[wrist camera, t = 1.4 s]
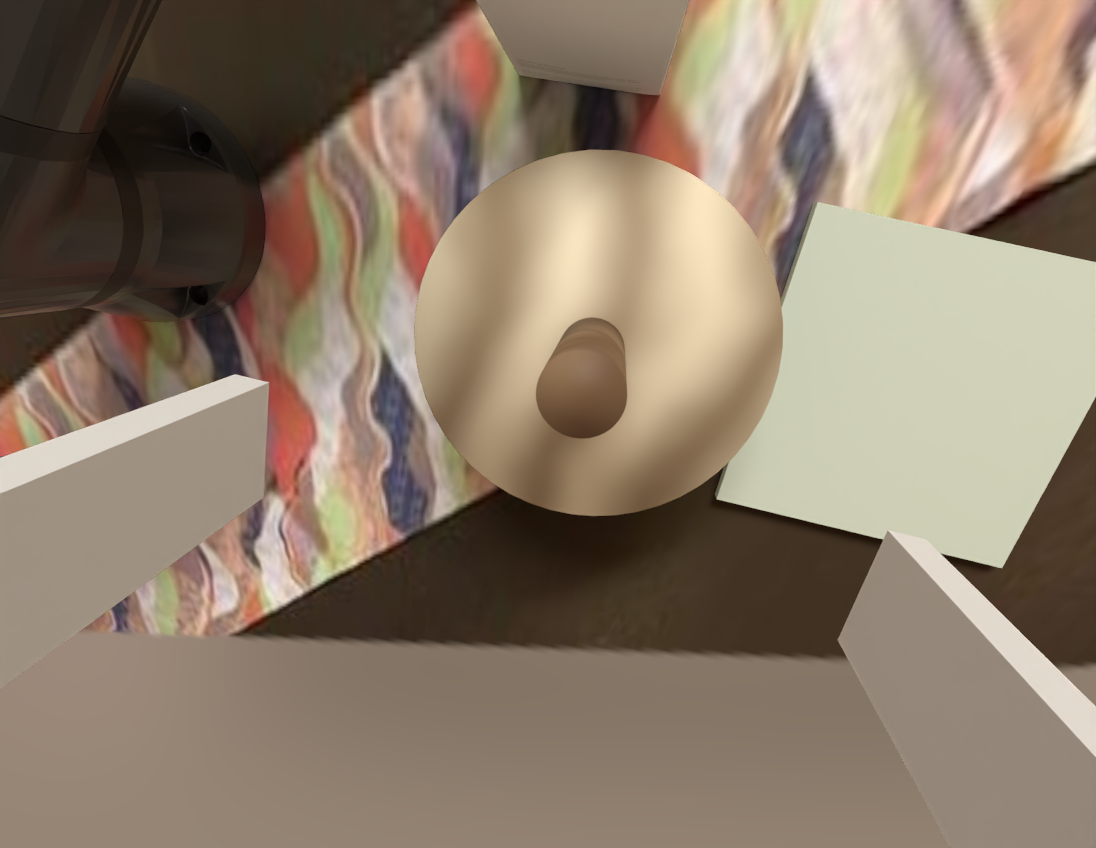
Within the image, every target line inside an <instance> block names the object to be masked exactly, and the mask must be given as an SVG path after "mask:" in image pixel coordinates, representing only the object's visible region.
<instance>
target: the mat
mask: <svg viewBox="0 0 1096 848" xmlns="http://www.w3.org/2000/svg"><path fill="white" fill-rule="evenodd" d="M781 309H782V318H783V349H782V355H781V362H780V368H779V373H778V377H777V380H776V383H775V387H774V390H773V393H772V396H771V399H770V401H769V403H768V405H767V408H766V410H765V412H764V414H763V416H762V418H761V420H760V422H759V423H758V425H757V426H756V428H755V430H754V431H753V433H752V435H751V436H750V438H749V439H748V440H747V442H746V443H745V444H744V445H743V446H742V448H741V449H740V450H739V451H738V453H737V454H736V455H735V456H734V457H733V458H732V459H731V460H730V461H729V462H728V463H727V464H726V465H725V466H724V468H723V471H722V474H721V477H720V480H719V483H718V486H717V489H716V492H715V497H716V499H718V500H722V501H726V502H730V503H734V504H739V505H743V506H747V507H751V508H755V509H759V510H763V511H767V512H772V513H776V514H780V515H784V516H788V517H792V518H796V519H801V520H805V521H809V522H813V523H817V524H821V525H825V526H829V527H834V528H838V529H842V530H846V531H850V532H854V533H858V534H862V535H867V536H871V537H875V538H879V539H884V537H885V535H886V533H887V531H888V530H889V531H893V532H898V533H902V534H906V535H910V536H914V537H919V538H923V539H926V540H927V541H928V542H929V543H930V544H931V545H932V546H933V547H934V548H935V549H936V550H937V551H938V552H939V553H941V554H945V555H949V556H953V557H958V558H962V559H966V560H970V561H974V562H978V563H982V564H986V565H991V566H995V567H999V568H1002V567H1003V565H1004V563H1005V562H1006V560H1007V558H1008V556H1009V554H1010V552H1011V551H1012V549H1013V547H1014V545H1015V543H1016V541H1017V540H1018V538H1019V536H1020V534H1021V532H1022V530H1023V529H1024V527H1025V525H1026V523H1027V521H1028V519H1029V518H1030V516H1031V514H1032V512H1033V510H1034V508H1035V507H1036V505H1037V503H1038V501H1039V499H1040V498H1041V496H1042V494H1043V492H1044V490H1045V488H1046V487H1047V485H1048V483H1049V481H1050V479H1051V477H1052V476H1053V474H1054V472H1055V470H1056V468H1057V466H1058V465H1059V463H1060V461H1061V459H1062V457H1063V455H1064V454H1065V452H1066V450H1067V448H1068V446H1069V444H1070V443H1071V441H1072V439H1073V437H1074V435H1075V433H1076V432H1077V430H1078V428H1079V426H1080V424H1081V423H1082V421H1083V419H1084V417H1085V415H1086V413H1087V412H1088V410H1089V408H1090V406H1091V404H1092V402H1093V401H1094V399H1095V397H1096V262H1091V261H1087V260H1082V259H1078V258H1073V257H1068V256H1064V255H1059V254H1055V253H1050V252H1045V251H1041V250H1036V249H1032V248H1027V247H1022V246H1018V245H1013V244H1008V243H1004V242H999V241H995V240H990V239H985V238H981V237H976V236H972V235H967V234H962V233H958V232H953V231H949V230H944V229H939V228H935V227H930V226H926V225H921V224H916V223H912V222H907V221H902V220H898V219H893V218H889V217H884V216H879V215H875V214H870V213H866V212H861V211H856V210H852V209H847V208H843V207H838V206H833V205H829V204H824V203H820V202H816V203H813V206H812V209H811V212H810V215H809V218H808V220H807V223H806V226H805V229H804V232H803V235H802V238H801V241H800V244H799V247H798V250H797V253H796V256H795V259H794V262H793V265H792V268H791V271H790V274H789V277H788V279H787V282H786V285H785V288H784V291H783V294H782V297H781Z"/></svg>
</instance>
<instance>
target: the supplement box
mask: <svg viewBox="0 0 1096 848" xmlns="http://www.w3.org/2000/svg"><path fill="white" fill-rule="evenodd" d="M476 1H477V3H478V4H479V6H480V8H481V10H482V11H483V13H484V15H485V17H486V18H487V20H488V22H489V24H490V25H491V27H492V29H493V31H494V33H495V34H496V36H497V38H498V40H499V42H500V43H501V45H502V47H503V49H504V50H505V52H506V54H507V56H508V57H509V59H510V61H511V62H512V64H513V66H514V68H515V70H516V71H517V73H518V74H519V75H521V76H527V77H533V78H540V79H547V80H553V81H560V82H566V83H573V84H580V85H586V86H593V87H600V88H606V89H612V90H619V91H625V92H632V93H639V94H647V95H660V94H661V92H662V88H663V85H664V82H665V78H666V75H667V72H668V69H669V65H670V62H671V59H672V56H673V53H674V50H675V46H676V43H677V40H678V37H679V33H680V30H681V27H682V23H683V20H684V17H685V14H686V10H687V7H688V4H689V0H476Z"/></svg>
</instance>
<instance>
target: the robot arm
mask: <svg viewBox="0 0 1096 848" xmlns="http://www.w3.org/2000/svg"><path fill="white" fill-rule="evenodd" d="M161 1H162V0H0V319H7V318H14V317H20V316H27V315H34V314H40V313H47V312H53V311H60V310H66V309H73V308H81V307H83V308H88V309H92V310H97V311H101V312H106V313H110V314H115V315H119V316H124V317H128V318H133V319H137V320H142V321H149V322H178V321H184V320H189V319H194V318H199V317H204V316H207V315H211V314H213V313H216V312H218V311H220V310H222V309H224V308H225V307H227V306H228V305H230V304H231V303H232V302H233V301H235V300H236V299H237V298H238V297H239V296H240V295H241V294H242V293H243V291H244V290H245V289H246V288H247V286H248V285H249V283H250V282H251V280H252V278H253V276H254V274H255V272H256V270H257V268H258V265H259V262H260V259H261V256H262V251H263V246H264V239H265V213H264V205H263V200H262V195H261V191H260V188H259V184H258V181H257V178H256V176H255V173H254V171H253V168H252V166H251V164H250V162H249V160H248V158H247V156H246V154H245V153H244V151H243V149H242V148H241V146H240V144H239V143H238V142H237V140H236V139H235V137H234V136H233V135H232V134H231V132H230V131H229V130H228V129H227V128H226V126H225V125H224V124H223V123H222V122H221V121H220V120H219V119H218V118H217V117H216V116H215V115H214V114H212V113H211V112H210V111H209V110H208V109H206V108H205V107H204V106H202V105H201V104H199V103H198V102H196V101H195V100H193V99H191V98H190V97H188V96H186V95H184V94H182V93H180V92H177V91H175V90H172V89H169V88H166V87H163V86H160V85H157V84H154V83H151V82H148V81H144V80H141V79H137V78H131V77H127V74H128V72H129V70H130V68H131V65H132V63H133V61H134V59H135V57H136V55H137V52H138V50H139V48H140V46H141V44H142V42H143V40H144V37H145V35H146V33H147V31H148V29H149V27H150V25H151V22H152V20H153V18H154V16H155V14H156V12H157V10H158V7H159V5H160V3H161ZM268 398H269V382H265V381H261V380H257V379H253V378H248V377H244V376H240V375H236V374H235V375H232V376H229V377H226V378H223V379H221V380H218V381H215V382H212V383H209V384H206V385H204V386H201V387H198V388H195V389H192V390H190V391H187V392H184V393H181V394H178V395H175V396H173V397H170V398H167V399H164V400H161V401H159V402H156V403H153V404H150V405H147V406H145V407H142V408H139V409H136V410H133V411H130V412H128V413H125V414H122V415H119V416H116V417H114V418H111V419H108V420H105V421H102V422H99V423H97V424H94V425H91V426H88V427H85V428H83V429H80V430H77V431H74V432H71V433H68V434H66V435H63V436H60V437H57V438H54V439H52V440H49V441H46V442H43V443H40V444H38V445H35V446H32V447H29V448H26V449H23V450H21V451H18V452H15V453H12V454H9V455H7V456H2V457H0V689H1V688H2V687H4V686H5V685H7V684H8V683H9V682H11V681H12V680H13V679H15V678H16V677H17V676H19V675H20V674H22V673H23V672H24V671H25V670H27V669H29V668H30V667H31V666H33V665H34V664H35V663H37V662H38V661H40V660H41V659H42V658H44V657H45V656H46V655H48V654H49V653H51V652H52V651H53V650H55V649H56V648H57V647H59V646H60V645H61V644H63V643H64V642H65V641H67V640H68V639H70V638H71V637H72V636H74V635H75V634H77V633H78V632H79V631H81V630H82V629H83V628H85V627H86V626H88V625H89V624H90V623H92V622H93V621H94V620H96V619H97V618H99V617H100V616H101V615H103V614H104V613H105V612H107V611H108V610H110V609H111V608H112V607H114V606H115V605H116V604H118V603H119V602H121V601H122V600H123V599H125V598H126V597H127V596H129V595H130V594H132V593H133V592H134V591H136V590H137V589H138V588H140V587H141V586H142V585H144V584H145V583H147V582H148V581H149V580H151V579H152V578H153V577H155V576H156V575H158V574H159V573H160V572H162V571H163V570H164V569H166V568H167V567H169V566H170V565H171V564H173V563H174V562H175V561H177V560H178V559H180V558H181V557H182V556H184V555H185V554H186V553H188V552H189V551H191V550H192V549H193V548H195V547H196V546H197V545H199V544H200V543H201V542H203V541H204V540H206V539H207V538H208V537H210V536H211V535H212V534H214V533H215V532H217V531H218V530H219V529H221V528H222V527H223V526H225V525H226V524H228V523H229V522H230V521H232V520H233V519H234V518H236V517H237V516H239V515H240V514H241V513H243V512H244V511H245V510H247V509H248V508H250V507H251V506H252V505H254V504H255V503H256V502H258V501H259V500H261V499H262V498H263V497H264V478H265V458H266V438H267V418H268ZM838 641H839V643H840V645H841V647H842V649H843V651H844V653H845V654H846V656H847V658H848V660H849V662H850V664H851V665H852V667H853V669H854V671H855V673H856V675H857V677H858V678H859V680H860V682H861V684H862V686H863V688H864V689H865V691H866V693H867V695H868V697H869V699H870V701H871V702H872V704H873V706H874V708H875V710H876V712H877V713H878V715H879V717H880V719H881V721H882V723H883V725H884V726H885V728H886V730H887V732H888V734H889V735H890V737H891V739H892V741H893V743H894V745H895V747H896V749H897V750H898V752H899V754H900V756H901V758H902V760H903V761H904V763H905V765H906V767H907V769H908V771H909V773H910V774H911V776H912V778H913V780H914V782H915V784H916V785H917V787H918V789H919V791H920V793H921V795H922V796H923V798H924V800H925V802H926V804H927V805H928V808H929V809H930V811H931V813H932V815H933V817H934V819H935V820H936V822H937V824H938V826H939V828H940V830H941V832H942V833H943V835H944V837H945V839H946V841H947V843H948V845H949V846H950V848H1096V706H1095V705H1094V704H1093V703H1091V702H1090V701H1089V700H1088V699H1087V698H1086V697H1085V696H1084V695H1083V694H1082V693H1081V692H1080V691H1079V690H1078V689H1077V688H1076V687H1075V686H1074V685H1073V684H1072V683H1071V682H1070V681H1069V680H1068V679H1067V678H1066V677H1065V676H1064V675H1063V674H1062V673H1061V672H1060V671H1059V670H1058V669H1057V668H1056V667H1055V666H1054V665H1053V664H1052V663H1051V662H1050V661H1049V660H1048V659H1047V658H1046V657H1045V656H1044V655H1043V654H1042V653H1041V652H1040V651H1039V650H1038V649H1037V648H1036V647H1035V646H1034V645H1033V644H1032V643H1031V642H1030V641H1029V640H1028V639H1027V638H1026V637H1025V636H1024V635H1022V634H1021V633H1020V632H1019V631H1018V630H1017V629H1016V628H1015V627H1014V626H1013V625H1012V624H1011V623H1010V622H1009V621H1008V620H1007V619H1006V618H1005V617H1004V616H1003V615H1002V614H1001V613H1000V612H999V611H998V610H997V609H996V608H995V607H994V606H993V605H992V604H991V603H990V602H989V601H988V600H987V599H986V598H985V597H984V596H983V595H982V594H981V593H980V592H979V591H978V590H977V589H976V588H975V587H974V586H973V585H972V584H971V583H970V582H969V581H968V580H967V579H966V578H965V577H964V576H963V575H962V574H961V573H960V572H959V571H958V570H957V569H956V568H955V567H953V566H952V565H951V564H950V563H949V562H948V561H947V560H946V559H945V558H944V557H943V556H942V555H941V554H940V553H939V552H938V551H937V550H936V549H935V548H934V547H933V546H932V545H931V544H930V543H929V542H928V541H927V540H926V539H923V538H919V537H914V536H910V535H906V534H902V533H898V532H893V531H889V530H888V531H887V533H886V535H885V537H884V539H883V542H882V544H881V546H880V548H879V550H878V553H877V555H876V557H875V559H874V561H873V564H872V566H871V568H870V570H869V572H868V575H867V577H866V579H865V581H864V583H863V586H862V588H861V590H860V592H859V594H858V597H857V599H856V601H855V603H854V605H853V608H852V610H851V612H850V614H849V616H848V619H847V621H846V623H845V625H844V627H843V630H842V632H841V634H840V636H839V638H838Z"/></svg>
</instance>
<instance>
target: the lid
mask: <svg viewBox="0 0 1096 848" xmlns="http://www.w3.org/2000/svg"><path fill="white" fill-rule="evenodd" d="M414 337H415V355H416V361H417V367H418V373H419V377H420V380H421V384H422V387H423V390H424V394H425V397H426V399H427V401H428V404H429V406H430V408H431V410H432V413H433V415H434V417H435V419H436V421H437V422H438V424H439V426H440V427H441V429H442V431H443V432H444V434H445V436H446V437H447V438H448V440H449V441H450V442H451V444H452V445H453V446H454V447H455V449H456V450H457V451H458V453H459V454H460V455H461V456H462V457H463V458H464V459H465V460H466V461H467V462H468V463H469V464H470V465H471V466H472V467H473V468H474V469H475V470H476V471H478V472H479V473H480V474H481V475H483V476H484V477H485V478H486V479H488V480H489V481H490V482H492V483H493V484H495V485H496V486H498V487H500V488H501V489H503V490H504V491H506V492H508V493H509V494H511V495H513V496H515V497H518V498H520V499H522V500H524V501H526V502H528V503H531V504H534V505H537V506H540V507H543V508H546V509H549V510H553V511H558V512H563V513H568V514H575V515H587V516H608V515H620V514H627V513H633V512H638V511H642V510H646V509H649V508H653V507H656V506H660V505H662V504H664V503H667V502H669V501H672V500H674V499H676V498H679V497H681V496H682V495H684V494H686V493H688V492H690V491H691V490H693V489H695V488H697V487H698V486H700V485H701V484H703V483H704V482H705V481H707V480H708V479H709V478H711V477H712V476H713V475H715V474H716V473H717V472H719V471H720V470H721V469H722V468H723V467H724V466H725V465H726V464H727V463H728V462H729V461H730V460H731V459H732V458H733V457H734V456H735V455H736V454H737V453H738V451H739V450H740V449H741V448H742V446H743V445H744V444H745V443H746V442H747V440H748V439H749V438H750V436H751V435H752V433H753V431H754V430H755V428H756V426H757V425H758V423H759V422H760V420H761V418H762V416H763V414H764V412H765V410H766V408H767V405H768V403H769V401H770V399H771V396H772V393H773V390H774V387H775V383H776V380H777V377H778V373H779V368H780V362H781V355H782V349H783V318H782V309H781V300H780V295H779V292H778V288H777V284H776V280H775V276H774V273H773V271H772V268H771V266H770V263H769V261H768V259H767V256H766V254H765V251H764V249H763V248H762V246H761V244H760V243H759V241H758V239H757V238H756V236H755V234H754V233H753V231H752V229H751V228H750V226H749V225H748V224H747V223H746V221H745V220H744V219H743V218H742V217H741V215H740V214H739V213H738V212H737V210H736V209H735V208H734V207H733V206H732V205H731V204H730V203H729V202H728V201H727V200H726V199H724V198H723V197H722V196H721V195H720V194H719V193H718V192H717V191H716V190H715V189H713V188H712V187H710V186H709V185H707V184H706V183H704V182H703V181H701V180H700V179H699V178H697V177H696V176H694V175H693V174H691V173H689V172H687V171H685V170H682V169H680V168H678V167H676V166H674V165H672V164H670V163H668V162H665V161H662V160H658V159H655V158H652V157H649V156H646V155H643V154H637V153H630V152H624V151H618V150H584V151H576V152H568V153H562V154H558V155H554V156H551V157H547V158H543V159H540V160H537V161H534V162H532V163H530V164H528V165H525V166H523V167H521V168H518V169H516V170H514V171H512V172H510V173H509V174H507V175H506V176H504V177H502V178H501V179H499V180H497V181H496V182H494V183H492V184H491V185H490V186H489V187H487V188H486V189H485V190H484V191H483V192H481V193H480V194H479V195H478V196H476V197H475V198H474V199H473V200H472V201H471V202H470V203H469V204H468V205H467V206H466V207H465V208H464V209H463V210H462V211H461V213H460V214H459V215H458V216H457V217H456V218H455V219H454V221H453V222H452V223H451V225H450V226H449V228H448V229H447V231H446V232H445V233H444V235H443V236H442V238H441V239H440V241H439V243H438V245H437V247H436V249H435V251H434V253H433V255H432V257H431V258H430V260H429V263H428V266H427V269H426V271H425V274H424V277H423V280H422V283H421V287H420V291H419V296H418V300H417V305H416V315H415V326H414Z"/></svg>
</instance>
